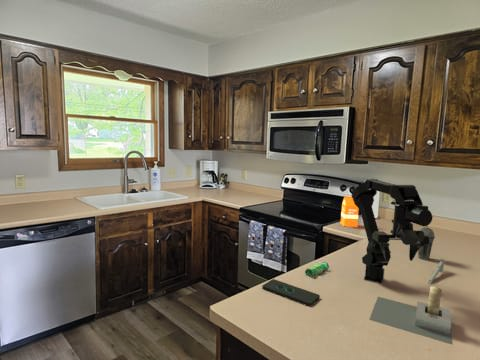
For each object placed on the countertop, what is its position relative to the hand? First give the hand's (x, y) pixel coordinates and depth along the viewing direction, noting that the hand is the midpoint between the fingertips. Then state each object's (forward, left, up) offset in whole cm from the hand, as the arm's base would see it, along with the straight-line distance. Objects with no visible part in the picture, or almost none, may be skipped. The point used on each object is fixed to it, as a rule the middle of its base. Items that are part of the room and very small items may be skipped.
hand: (398, 260), depth 117 cm
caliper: (+13, +27, -14) cm, 33 cm away
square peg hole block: (+12, -16, -13) cm, 24 cm away
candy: (-30, +2, -14) cm, 33 cm away
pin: (+12, -16, -13) cm, 24 cm away
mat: (+6, -16, -13) cm, 21 cm away
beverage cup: (+8, +49, -13) cm, 51 cm away
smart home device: (-33, -23, -14) cm, 42 cm away
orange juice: (-37, +89, -13) cm, 97 cm away
